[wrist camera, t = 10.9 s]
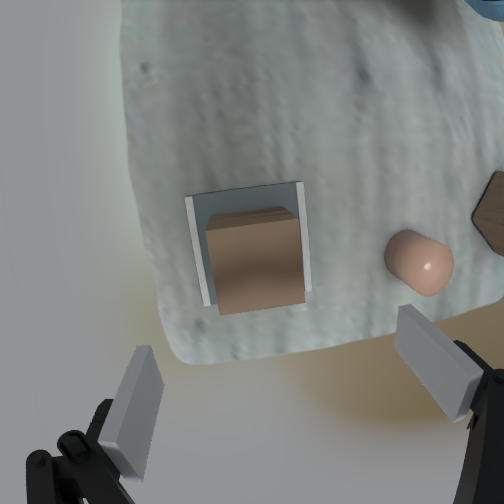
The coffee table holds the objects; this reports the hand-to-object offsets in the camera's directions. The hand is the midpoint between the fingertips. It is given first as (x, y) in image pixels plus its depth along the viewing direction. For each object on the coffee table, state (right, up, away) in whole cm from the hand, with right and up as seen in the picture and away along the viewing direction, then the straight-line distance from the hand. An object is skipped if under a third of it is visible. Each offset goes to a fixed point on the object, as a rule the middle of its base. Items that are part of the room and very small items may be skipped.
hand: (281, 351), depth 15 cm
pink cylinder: (+19, +5, +23) cm, 30 cm away
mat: (-2, +6, +21) cm, 22 cm away
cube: (-2, +6, +20) cm, 21 cm away
